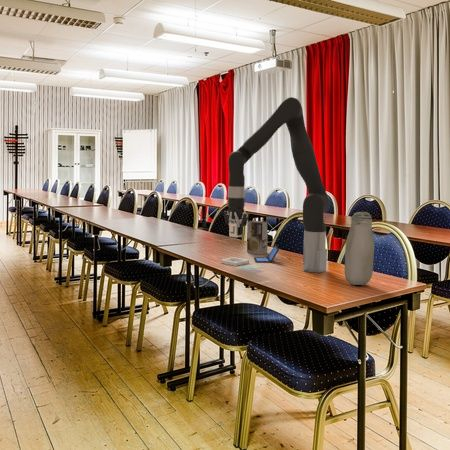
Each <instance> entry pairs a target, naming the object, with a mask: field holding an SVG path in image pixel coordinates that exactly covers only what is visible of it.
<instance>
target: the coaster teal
mask: <svg viewBox="0 0 450 450" xmlns="http://www.w3.org/2000/svg"><path fill="white" fill-rule="evenodd" d="M247 266H248V265H240V266H238V267H237V266H235V269H238V270H244V271H247V270H251V269H254V268H252V267H247Z"/></svg>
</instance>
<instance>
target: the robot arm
mask: <svg viewBox="0 0 450 450" xmlns="http://www.w3.org/2000/svg"><path fill="white" fill-rule="evenodd" d="M303 111H304V110H303V106H302V104H301V101H300V100H299V99H298V98H296V97H292V96H291V97H287V98H285V99H283V100H282V102H281V103H280V104H279V105H278V106H277V108H276V109H275V111H274V112H273V113H272V114H271V115H270V116H269V118H268V119H267V120H266V121H265V122H264V123H263V124H262V125H261V126H259V128H258V129H256V131H254V132H253V133H252V134H251V135H250V136H248V138H247V139H246V140H244V143H243V144H242V145H241V146H240V147H239V148H237V150H234V151H232V152H231V153H230V154H229V155H228V159H227V161H228V176H229V177H228V189H227V207H228V209H227V211H223V217H224V222H225V225H227V226H229V223H235V222H236V223H237V225H238V228H237V235H242V236H243V228H244V227H246V226H247V222H249V221H248V220H249V217H250V213H249V212H245V209H244V208H245V205H246V195H245V194H246V190H245V189H246V188H245V180H246V177H245V174H244V171H245V170H244V169H245V164H246V163H247V162H249V160H250V159H251V158H252V157H253V156H254V155H255V154H257V153H258V152H259V151H260V150H261V149H262V148H263V147H264V146H265V145H266V144H268V142H269V141H270V140H271V139H272V138H273V136H274V135H275V133H276V132H277V131H278V130H279V129H280V128H281V127H282V126H283V125H285V124H286V128H287V130H288V131H287V132H288V134H289V139H290V140H289V141H290V148H291V153H292V158H293V161H294V165H295V167H296V170H297V172H298V174H299V175H300V177H301V179H302V180H303V182H304V183H305V187H306V189H307V192H308V193H307V194H308V195H306V197H305V198H304V200H303V203H302V225H303V229H304V230H303V248H302V249H303V252H302V253H303V254H302V270H303V272H307V273H310V272H311V273H318V274H319V273H324V272H326V271H327V264H328V263H327V262H328V261H327V260H328V248H326V244H327V243H326V239H327V225H326V223H325V221H324V214H325V213H327V212H328V211H329V209H330V199H329V196H328V193H327V191H326V188H325V187H324V186H325V185H324V183H323V180H322V177H321V172H320V168H319V164H318V161H317V157H316V153H315V150H314V147H313V143H312V141H311V138H310V136H309V134H308V131H307V129H306V125H305V119H304V112H303Z"/></svg>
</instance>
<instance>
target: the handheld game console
mask: <svg viewBox="0 0 450 450" xmlns="http://www.w3.org/2000/svg"><path fill="white" fill-rule="evenodd" d="M279 251H280V249H279V246H277V244H274V246H273V248H272V249H271V250H270V253H269V254H268V255H267V256H254V257H253V260H254V263H257V264H272V262H273V260H274V259H275V257H276V256H277V254H278V253H279Z"/></svg>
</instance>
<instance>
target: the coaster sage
mask: <svg viewBox="0 0 450 450" xmlns="http://www.w3.org/2000/svg"><path fill="white" fill-rule="evenodd" d="M246 266H247V267H252V268H253V269H259V268H264V267H265V266H264V265H259V264H249V265H246Z"/></svg>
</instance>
